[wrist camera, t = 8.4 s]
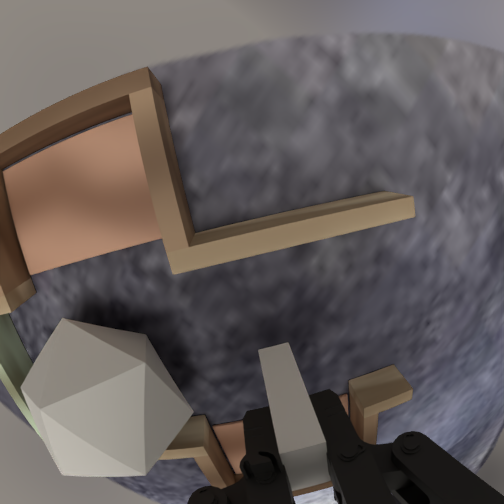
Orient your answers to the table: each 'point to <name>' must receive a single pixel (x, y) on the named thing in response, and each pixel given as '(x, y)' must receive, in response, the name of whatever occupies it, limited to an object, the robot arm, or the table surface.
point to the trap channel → (149, 234)
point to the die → (103, 401)
